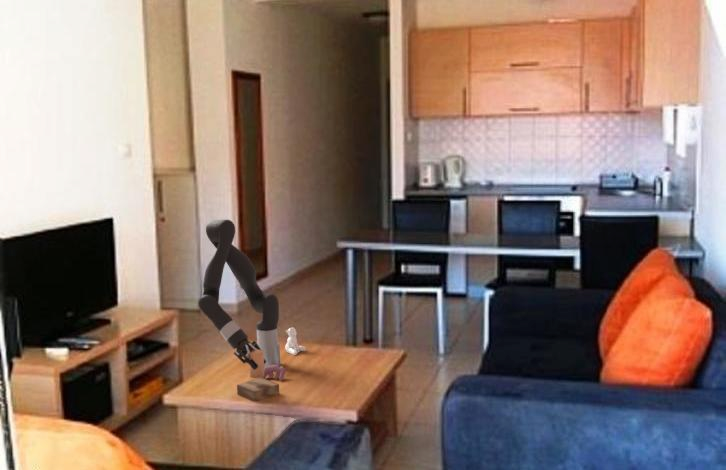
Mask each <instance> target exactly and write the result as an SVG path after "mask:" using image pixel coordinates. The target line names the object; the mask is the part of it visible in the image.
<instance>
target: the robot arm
mask: <svg viewBox="0 0 726 470" xmlns="http://www.w3.org/2000/svg"><path fill="white" fill-rule="evenodd" d="M205 234H206V237H207V238H208V240H209V241H210V242H211V244H212V246H213V247H214V248H215V249H216V251H215V253H214V255H213V256H212V258H211V259H210V261H209V262H208V264H207V266H206V268H205V271H204V276H203V277H204V278H203V282H202V288H203V292H202V296H200V297H199V299H198V301H197V302H198V303H197V304H198V308H199V309H200V310H201V311H202V313H203V314H204V315H205V316H206V317H207V318H208V319H209V320H210V321H211V322H212V324H213V325H214V327H215V328H216V329H217V330H218V331H219V333H220V335H222V337H223V339H225V341H226V342H227V343H228V344H229V345H230V347H231V348H232V349H234V350H235V351H234V352H233V354H234V355H235V356H236V357H237V359H239V360H240V362H242V363H243V364H248V365H250V366H251V367H252V368H253V369H254V370H255V369H257V368H258V365H257V364H256V363H255V361H254V360H253V359H252V358H251V356H250V351H252V350H263V351H264V369H265V367H267V366H269V365H279V366H281V347H280V344H279V341H278V338H279V337H278V323H279V320H280V319H279V318H280V316H279V314H280V313H279V311H280V309H279V308H280V305H279V304H280V303H279V300H278V297H277V296H276V295H275V294H273V293H267V292H264V291H263V290H262V288H260V286H259V284H258V283H257V272H256V268H255V266H254V265H253V264H254V263H252V261H251V259H250V258H249V257H248V255H246V254H245V253H244V252H243V251H242V250H240V249H239V248H238V247H236V246H235V245H234V244H233V241H234V238H235V235H236V226H235V224H234V222H233V221H232V220H231V219H215V220H211V221H209V222H207V224H206V226H205ZM226 264H227V266H228V268H229V269H230V271H231V273H232V275H233V276H234V277H235V279H236V280H237V281H238V282H237V283H239V285H240V286H241V288H242V290H243V291H244V293H245V296H246V298H247V299H248V301H249V304H250V306H251V307H252V309H253V310H254V311H255V312H256V313H260V314H262V318H261V319H262V320H259V321H258V322H256V325H255V326H256V327H255V328H256V341H255V340H253V341H252V342H250V341H249V340H248V338H249V336H248V335H247V334H246V333H245V331H244V330H243V329H242V328H241V327H240V325H239V324H238V323H237V322H235V321H234V320H233V318H232V317H231V316H230V315H229V313H227V311H225V310H224V309H223V307H222V306H221V305H220V303H219V301H220V288H221V285H222V278H223V272H224V269H225V265H226Z"/></svg>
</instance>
